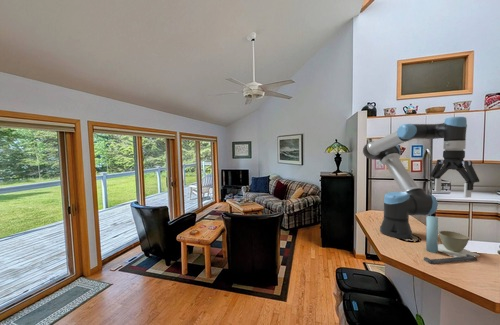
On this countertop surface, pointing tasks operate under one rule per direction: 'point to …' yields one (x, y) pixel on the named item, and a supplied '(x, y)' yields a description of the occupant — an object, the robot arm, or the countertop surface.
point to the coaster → (455, 254)
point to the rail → (450, 259)
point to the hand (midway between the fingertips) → (451, 194)
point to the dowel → (432, 234)
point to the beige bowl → (453, 240)
